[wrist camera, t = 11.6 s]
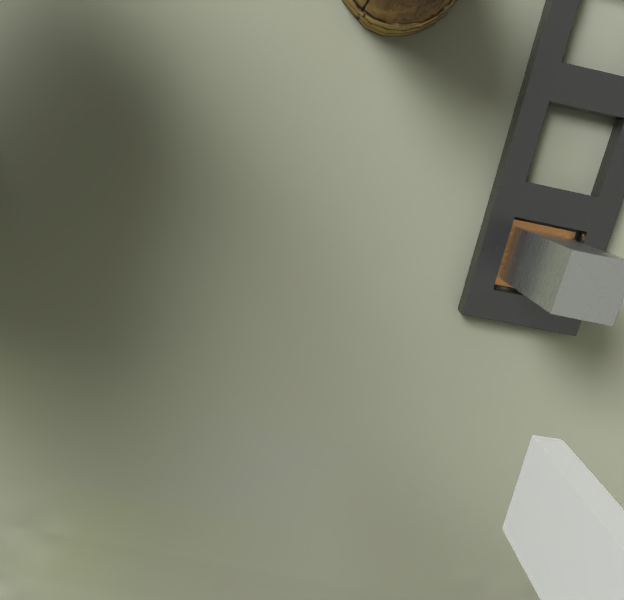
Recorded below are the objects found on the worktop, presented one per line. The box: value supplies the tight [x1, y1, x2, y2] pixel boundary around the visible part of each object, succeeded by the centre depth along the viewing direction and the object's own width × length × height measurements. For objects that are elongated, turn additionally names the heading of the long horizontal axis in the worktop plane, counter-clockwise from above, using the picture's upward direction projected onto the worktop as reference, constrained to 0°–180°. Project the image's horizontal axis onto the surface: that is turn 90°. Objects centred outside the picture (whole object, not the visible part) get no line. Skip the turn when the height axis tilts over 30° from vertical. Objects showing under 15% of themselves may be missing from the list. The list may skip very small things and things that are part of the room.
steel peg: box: [500, 227, 624, 326], centre depth 39 cm, size 4×4×9 cm
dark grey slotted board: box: [458, 0, 624, 336], centre depth 41 cm, size 9×26×1 cm, turn 168°
